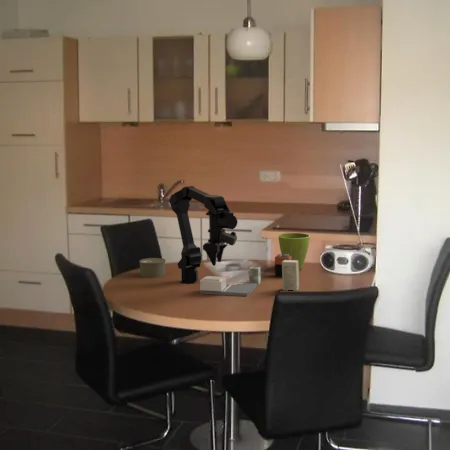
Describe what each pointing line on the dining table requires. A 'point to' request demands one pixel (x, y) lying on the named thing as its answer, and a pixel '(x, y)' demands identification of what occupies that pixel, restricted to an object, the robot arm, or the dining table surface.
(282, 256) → the battery
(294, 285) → the skincare box
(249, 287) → the board
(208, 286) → the cover
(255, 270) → the peg
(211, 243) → the robot arm
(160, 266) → the can
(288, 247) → the flower pot
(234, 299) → the dining table surface
